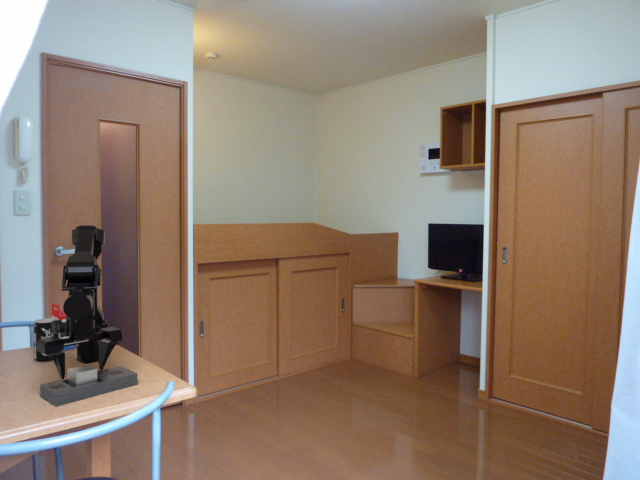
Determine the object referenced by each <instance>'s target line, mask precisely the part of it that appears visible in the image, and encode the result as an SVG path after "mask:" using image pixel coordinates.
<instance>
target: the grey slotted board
mask: <svg viewBox="0 0 640 480" xmlns="http://www.w3.org/2000/svg"><path fill="white" fill-rule="evenodd" d="M137 385H138V372H136V371H133V370H131V369H129V368H126V367H124V366H121V365H119V366H115V367H110V368H106V369H103V370H97V382H95V383H91V384H87V385H83V386H79V387H75V388H74V387H72V386H70V385H68V377H67V378H64V379H60V380H59V379H58V380H54V381H50V382H45V383H41V384H39V391H40V392H39V397H40V398H41V399H42V400H45V401H46V402H47V403H49V404H50V405H52V406H54V407H60V406H63V405H68V404H70V403H75V402H79V401H82V400H86V399H89V398H93V397H97V396H100V395H104V394H109V393H111V392H115V391H118V390H123V389H126V388H130V387H133V386H137Z"/></svg>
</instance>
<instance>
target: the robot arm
mask: <svg viewBox="0 0 640 480" xmlns="http://www.w3.org/2000/svg"><path fill="white" fill-rule="evenodd" d="M71 244H72V246H74V253H73V254H71V255H70V256H68V257H67V260H66V264H65V265H63V266H62V267H63V268H62V270H63V271H62V278H61V279H62V280H61V291H62V292H67V291H68V297H67V298H66V299H65V301H64V303H63V306H62V308H63V309H62V310H64V313H65V314H66V316H67V317H66V322H62V320H54V321H52V322H51V330H52V334H58V333H60V337H69V338H66V339H60V338H58V337H55V336H53V337H47V338H41V339H39V340H38V342H37V344H36V346H37V351H39V352H41V353H43V354H45V355H48V356H50V357H51V358H52V361H53V364H54V365H55V367H56V370H57V372H58V375H59V378H60V380H62V379H66V378H65V376H66V352H64V351H62V350H63V349H64V347H66V346H71V345H76V358H75V359H76V360H77V361H79V362H81V363H83V364H88V363H93V362H98V371H101V370H104V367H105V366H106V363H107V361H108V360H109V357H110V355H111V353H112V351H113V350H114V349H115V346H117V345H119V343H120V342H121V341H124V332H123V330H122V329H120V328H118V327H115V326H109V323H108V322H107V319H104V318H105V317H104V311H103V310H102V309H101V308H100V306H99V300H98V299H99V297H98V296H99V294H98V293H99V292H98V291H99V286H101V282H102V281H101V280H102V269H101V268H100V265H99V264H98V259H99V258H100V257H101V254H102V252H103V246H105V245H106V233H105V230H104V229H102V228H98V227H97V226H95V225H92V224H90V225H89V224H87V225H84V224H79V225H77V226H76V227H75V228H74V229H72V230H71ZM74 340H75V341H74Z"/></svg>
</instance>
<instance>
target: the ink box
mask: <svg viewBox="0 0 640 480" xmlns="http://www.w3.org/2000/svg"><path fill="white" fill-rule="evenodd" d="M56 308H57V309H56ZM66 317H67V316H66V314H65V313H64V310H63V309H62V306H61V305H60V304H57V303H54V302H52V303H51V318H55V319H57V320H62V322H66ZM59 338H60V339H66V338H69V337H60V333H59ZM74 341H75V340H74ZM75 349H77V345H71V346H66V347H64V349H63V350H62V352H64V351H68V350H75Z"/></svg>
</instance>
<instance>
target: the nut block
mask: <svg viewBox="0 0 640 480" xmlns="http://www.w3.org/2000/svg"><path fill="white" fill-rule="evenodd" d="M97 371H98V368H97V367H94V366H92V365H89V364H86V365H85V364H84V365H81V366H77V367H75V366H74V367H70V368H67V378H68V385H70V386H72V387H74V388H75V387H79V386H83V385H87V384H91V383H95V382H97Z"/></svg>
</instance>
